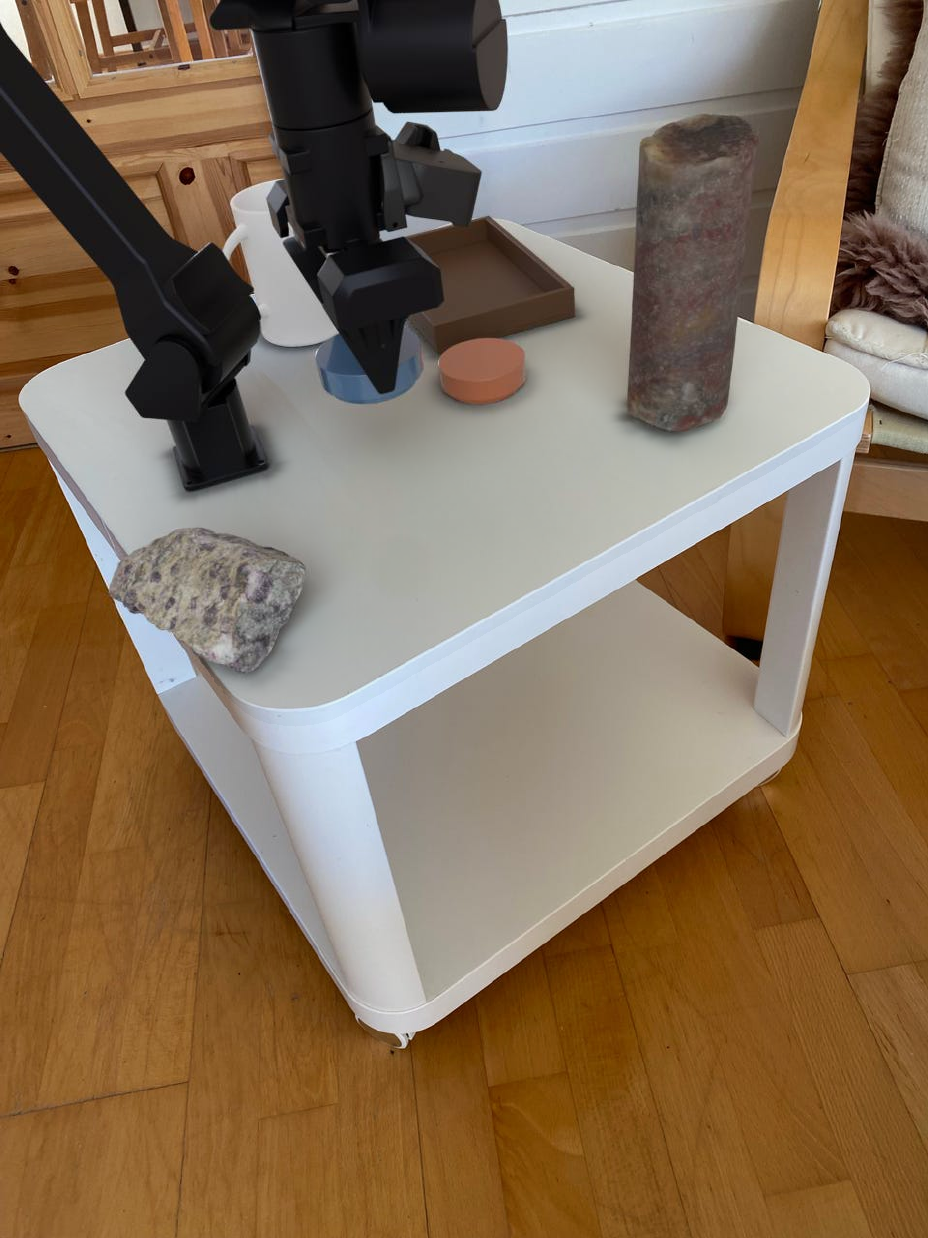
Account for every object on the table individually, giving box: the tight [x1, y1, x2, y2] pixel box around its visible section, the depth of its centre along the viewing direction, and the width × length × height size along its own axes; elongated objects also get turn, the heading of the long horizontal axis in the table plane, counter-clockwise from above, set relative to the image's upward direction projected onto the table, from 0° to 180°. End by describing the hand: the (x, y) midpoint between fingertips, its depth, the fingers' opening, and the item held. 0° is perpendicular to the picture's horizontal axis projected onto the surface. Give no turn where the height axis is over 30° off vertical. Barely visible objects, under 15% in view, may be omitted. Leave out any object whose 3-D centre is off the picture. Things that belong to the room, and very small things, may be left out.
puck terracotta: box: [437, 338, 527, 405], centre depth 77 cm, size 7×7×2 cm
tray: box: [404, 215, 576, 356], centre depth 89 cm, size 20×13×3 cm, turn 21°
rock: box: [108, 527, 307, 674], centre depth 58 cm, size 13×6×10 cm
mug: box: [222, 178, 339, 348], centre depth 84 cm, size 12×8×12 cm
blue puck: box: [314, 327, 424, 405], centre depth 63 cm, size 7×7×2 cm
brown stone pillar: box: [626, 113, 760, 433], centre depth 64 cm, size 8×7×20 cm
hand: (370, 367), depth 63 cm, fingers closed on blue puck, 7 cm apart
